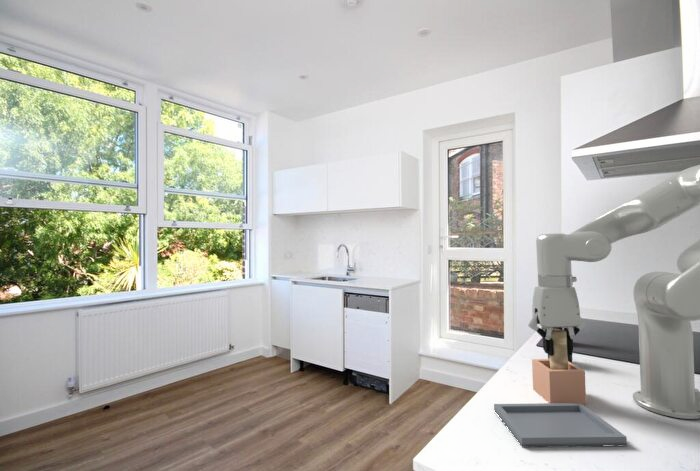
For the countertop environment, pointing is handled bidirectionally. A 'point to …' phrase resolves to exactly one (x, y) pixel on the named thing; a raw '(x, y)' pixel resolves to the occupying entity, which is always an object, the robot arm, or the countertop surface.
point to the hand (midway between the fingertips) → (558, 353)
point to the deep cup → (559, 382)
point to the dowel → (559, 350)
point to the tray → (558, 425)
